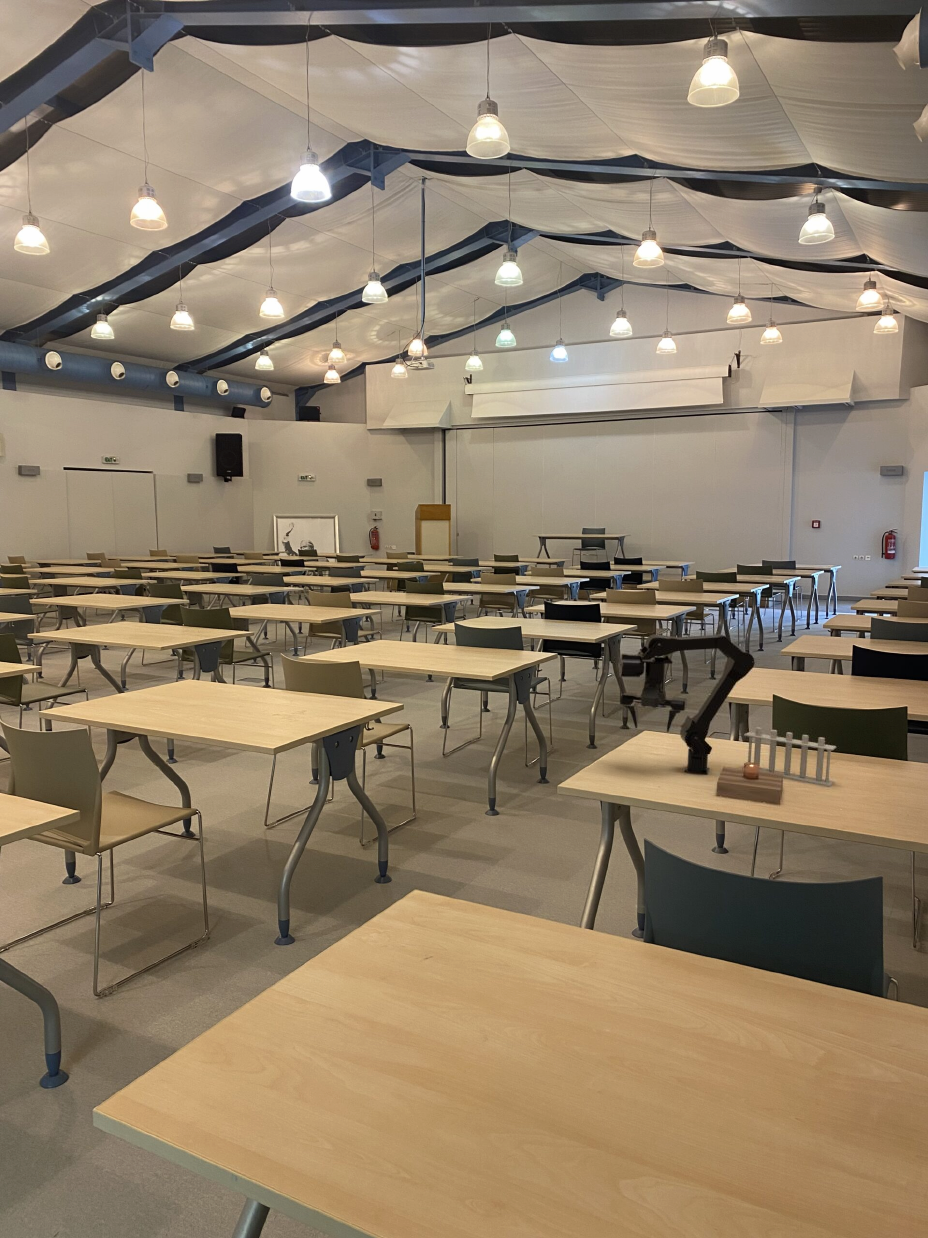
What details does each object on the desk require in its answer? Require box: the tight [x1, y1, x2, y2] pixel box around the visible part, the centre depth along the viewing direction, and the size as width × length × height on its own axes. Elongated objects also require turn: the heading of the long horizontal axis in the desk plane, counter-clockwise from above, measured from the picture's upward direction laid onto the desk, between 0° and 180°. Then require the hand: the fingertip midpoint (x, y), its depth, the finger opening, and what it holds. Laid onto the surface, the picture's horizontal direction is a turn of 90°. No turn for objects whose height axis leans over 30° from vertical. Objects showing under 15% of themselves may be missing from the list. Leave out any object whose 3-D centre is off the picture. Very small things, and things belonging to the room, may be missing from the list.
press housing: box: [716, 766, 784, 806], centre depth 227 cm, size 16×16×4 cm
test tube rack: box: [741, 726, 837, 788], centre depth 242 cm, size 25×4×13 cm, turn 53°
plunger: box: [743, 761, 760, 779], centre depth 227 cm, size 4×4×8 cm
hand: (652, 729), depth 246 cm, fingers open, 9 cm apart
